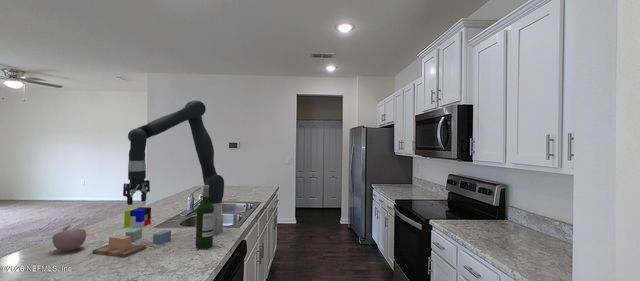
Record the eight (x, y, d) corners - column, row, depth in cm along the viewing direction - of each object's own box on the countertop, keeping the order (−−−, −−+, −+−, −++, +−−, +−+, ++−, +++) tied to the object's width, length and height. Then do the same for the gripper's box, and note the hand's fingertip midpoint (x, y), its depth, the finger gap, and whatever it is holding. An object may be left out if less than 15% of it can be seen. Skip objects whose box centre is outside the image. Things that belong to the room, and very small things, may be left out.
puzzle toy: (140, 228, 183) (141, 210, 183) (124, 227, 183) (124, 210, 183) (150, 223, 193) (151, 207, 193) (134, 223, 193) (135, 206, 193)
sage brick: (134, 237, 165) (134, 227, 165) (141, 237, 165) (142, 228, 165) (125, 242, 157) (125, 232, 157) (133, 242, 157) (133, 232, 157)
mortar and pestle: (81, 244, 151) (82, 220, 151) (89, 250, 144) (90, 225, 144) (49, 250, 142) (50, 225, 142) (55, 257, 134) (56, 230, 134)
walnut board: (145, 248, 148) (145, 245, 148) (124, 257, 136) (124, 254, 136) (115, 245, 152) (115, 242, 152) (92, 253, 140) (92, 250, 140)
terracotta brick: (130, 247, 145) (130, 236, 145) (123, 250, 141) (123, 239, 141) (116, 245, 147) (116, 234, 147) (108, 248, 143) (109, 237, 143)
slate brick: (164, 239, 163) (164, 229, 163) (170, 240, 162) (171, 230, 162) (152, 244, 155) (153, 234, 155) (159, 245, 154) (160, 234, 154)
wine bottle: (207, 250, 149) (209, 187, 149) (192, 248, 150) (194, 186, 151) (215, 244, 156) (217, 184, 157) (201, 243, 158) (203, 184, 158)
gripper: (132, 171, 145) (132, 206, 145) (154, 168, 159) (154, 200, 159) (118, 171, 146) (118, 205, 146) (141, 168, 160) (141, 199, 160)
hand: (137, 203), depth 152 cm, fingers open, 8 cm apart
